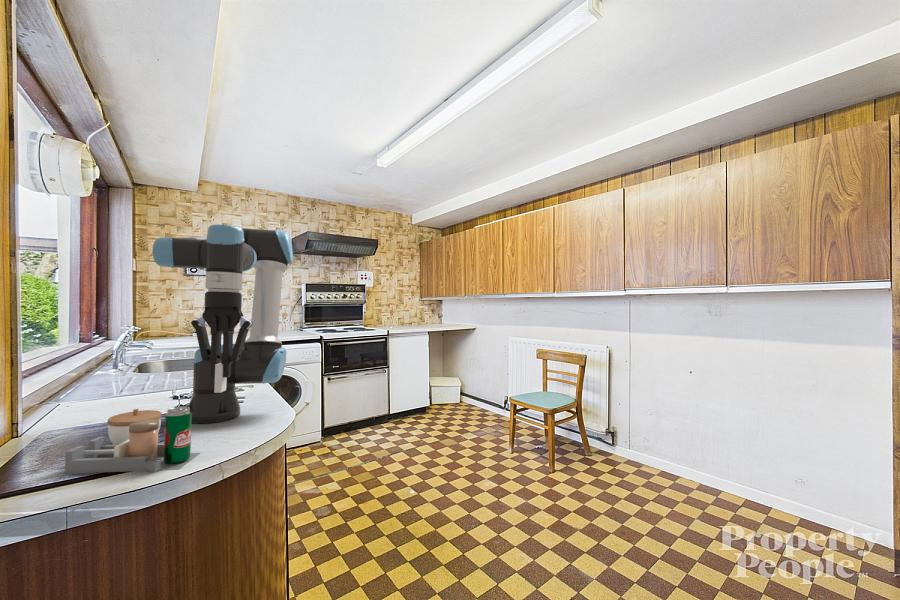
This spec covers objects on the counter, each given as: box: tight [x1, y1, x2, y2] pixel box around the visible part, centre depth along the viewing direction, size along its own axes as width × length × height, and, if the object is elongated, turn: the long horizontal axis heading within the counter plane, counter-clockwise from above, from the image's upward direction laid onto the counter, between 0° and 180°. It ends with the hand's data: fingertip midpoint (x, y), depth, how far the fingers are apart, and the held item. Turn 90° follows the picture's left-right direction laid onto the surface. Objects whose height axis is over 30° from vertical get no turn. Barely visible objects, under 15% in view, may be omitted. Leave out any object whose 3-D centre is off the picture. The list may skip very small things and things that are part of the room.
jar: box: [129, 419, 160, 461], centre depth 87 cm, size 5×5×9 cm
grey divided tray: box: [64, 435, 201, 475], centre depth 87 cm, size 12×22×5 cm, turn 99°
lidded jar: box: [107, 408, 163, 445], centre depth 98 cm, size 11×11×9 cm
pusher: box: [84, 440, 129, 457], centre depth 86 cm, size 6×11×4 cm, turn 99°
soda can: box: [163, 406, 193, 464], centre depth 88 cm, size 5×5×12 cm
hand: (220, 391), depth 90 cm, fingers closed
